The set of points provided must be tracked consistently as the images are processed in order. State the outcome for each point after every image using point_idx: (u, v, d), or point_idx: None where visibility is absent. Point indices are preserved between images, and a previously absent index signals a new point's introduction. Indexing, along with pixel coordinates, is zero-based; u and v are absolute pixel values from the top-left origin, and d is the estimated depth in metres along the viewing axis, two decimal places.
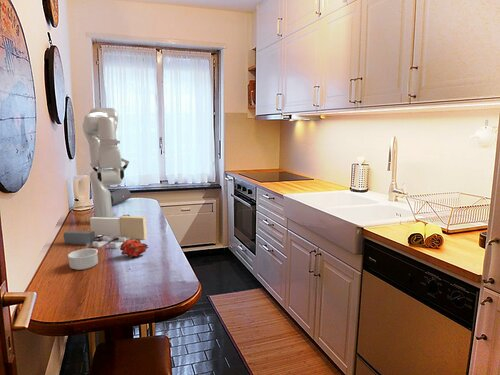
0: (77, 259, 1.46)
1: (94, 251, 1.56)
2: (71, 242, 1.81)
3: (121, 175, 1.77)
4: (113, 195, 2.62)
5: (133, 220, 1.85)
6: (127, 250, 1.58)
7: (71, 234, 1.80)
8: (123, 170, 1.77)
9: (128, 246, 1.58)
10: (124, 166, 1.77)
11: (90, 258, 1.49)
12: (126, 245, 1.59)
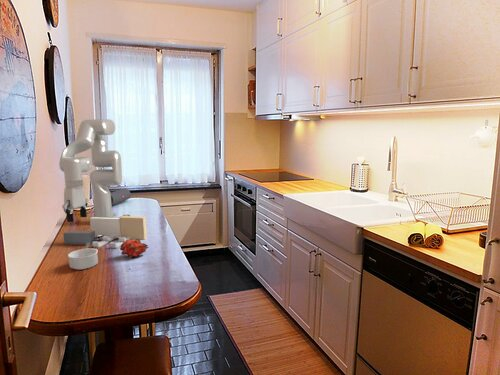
0: (77, 259, 1.47)
1: (94, 251, 1.56)
2: (71, 242, 1.80)
3: (85, 213, 1.83)
4: (113, 195, 2.62)
5: (133, 220, 1.85)
6: (127, 250, 1.58)
7: (71, 234, 1.80)
8: (86, 208, 1.84)
9: (128, 246, 1.58)
10: (86, 204, 1.84)
11: (90, 258, 1.49)
12: (126, 245, 1.59)
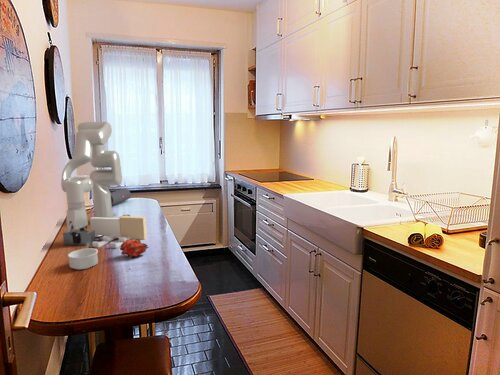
0: (77, 259, 1.47)
1: (94, 251, 1.56)
2: (71, 242, 1.80)
3: None
4: (113, 195, 2.62)
5: (133, 220, 1.85)
6: (127, 250, 1.58)
7: None
8: None
9: (128, 246, 1.58)
10: None
11: (90, 258, 1.49)
12: (126, 245, 1.59)
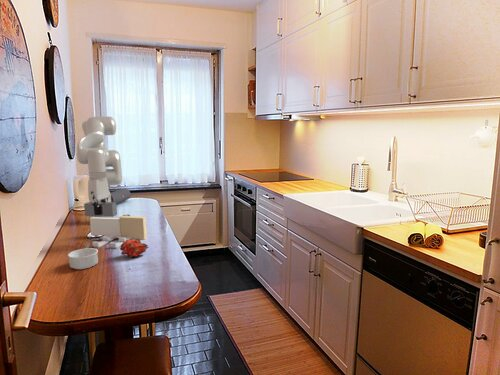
0: (77, 259, 1.47)
1: (94, 251, 1.56)
2: (92, 213, 1.75)
3: None
4: (113, 195, 2.62)
5: (133, 220, 1.85)
6: (127, 250, 1.58)
7: (92, 205, 1.74)
8: None
9: (128, 246, 1.58)
10: None
11: (90, 258, 1.49)
12: (126, 245, 1.59)
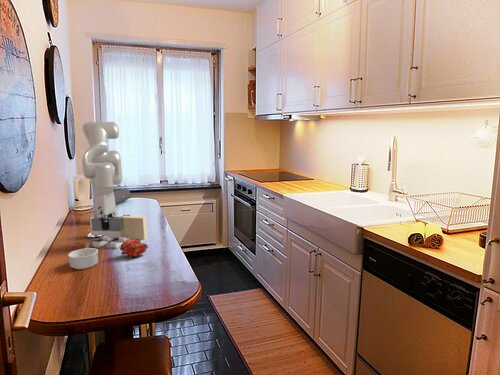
0: (77, 258, 1.47)
1: (94, 251, 1.57)
2: (99, 228, 1.76)
3: None
4: None
5: (133, 220, 1.85)
6: (127, 250, 1.58)
7: (99, 220, 1.75)
8: None
9: (128, 246, 1.58)
10: None
11: (90, 258, 1.49)
12: (126, 245, 1.59)
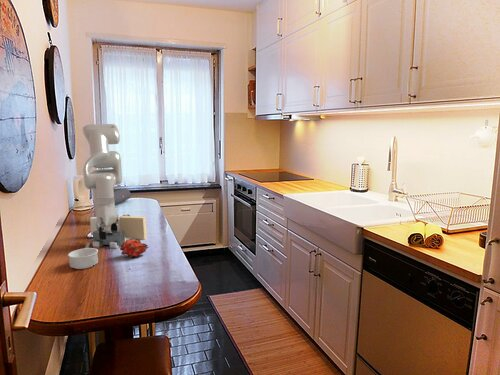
0: (77, 258, 1.47)
1: (94, 250, 1.57)
2: (100, 242, 1.77)
3: (116, 229, 1.82)
4: None
5: (133, 220, 1.85)
6: (127, 250, 1.58)
7: None
8: (116, 224, 1.83)
9: (128, 246, 1.58)
10: (116, 220, 1.83)
11: (90, 258, 1.49)
12: (126, 245, 1.59)
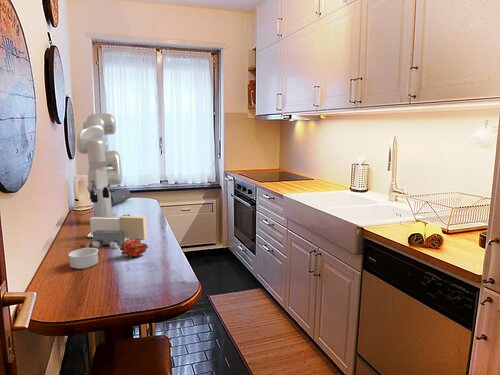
0: (77, 258, 1.47)
1: (94, 250, 1.57)
2: (100, 242, 1.77)
3: (108, 194, 1.85)
4: (113, 195, 2.62)
5: (133, 220, 1.85)
6: (127, 250, 1.58)
7: (100, 234, 1.76)
8: (108, 189, 1.86)
9: (128, 246, 1.58)
10: (108, 185, 1.86)
11: (90, 258, 1.50)
12: (126, 245, 1.59)
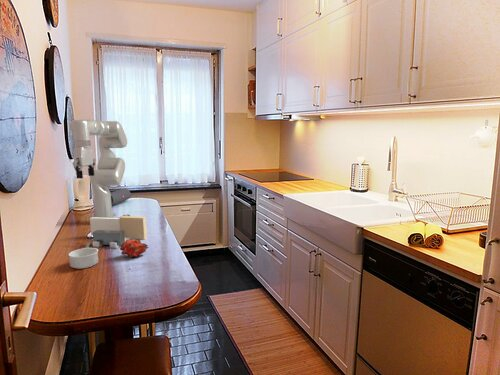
0: (78, 258, 1.47)
1: (94, 250, 1.57)
2: (100, 242, 1.77)
3: (93, 172, 1.99)
4: (113, 195, 2.62)
5: (133, 220, 1.85)
6: (127, 250, 1.58)
7: (100, 234, 1.76)
8: (93, 167, 2.00)
9: (128, 246, 1.58)
10: (93, 164, 2.00)
11: (90, 257, 1.50)
12: (126, 245, 1.59)
